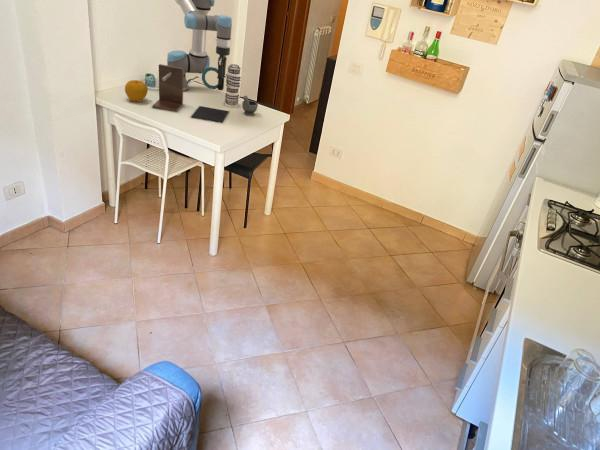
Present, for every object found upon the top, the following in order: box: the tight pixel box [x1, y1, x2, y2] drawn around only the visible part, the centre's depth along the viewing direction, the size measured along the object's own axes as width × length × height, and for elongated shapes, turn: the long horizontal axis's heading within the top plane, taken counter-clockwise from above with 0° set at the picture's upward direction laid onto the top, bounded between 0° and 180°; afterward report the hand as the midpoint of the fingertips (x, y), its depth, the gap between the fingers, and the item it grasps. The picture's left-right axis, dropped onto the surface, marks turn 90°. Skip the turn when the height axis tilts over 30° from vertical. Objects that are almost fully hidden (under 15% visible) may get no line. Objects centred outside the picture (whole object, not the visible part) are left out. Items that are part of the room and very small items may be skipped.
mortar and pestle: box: [241, 95, 259, 116], centre depth 267 cm, size 11×9×12 cm
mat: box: [190, 105, 229, 123], centre depth 258 cm, size 20×18×1 cm
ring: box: [201, 66, 218, 90], centre depth 246 cm, size 2×12×12 cm, turn 88°
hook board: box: [152, 63, 184, 113], centre depth 252 cm, size 15×14×22 cm
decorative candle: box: [224, 63, 242, 108], centre depth 273 cm, size 9×9×25 cm
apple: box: [124, 79, 149, 103], centre depth 255 cm, size 13×13×11 cm
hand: (220, 89), depth 249 cm, fingers closed on ring, 2 cm apart
